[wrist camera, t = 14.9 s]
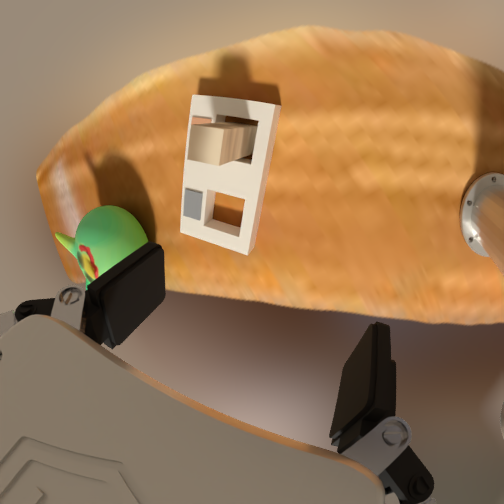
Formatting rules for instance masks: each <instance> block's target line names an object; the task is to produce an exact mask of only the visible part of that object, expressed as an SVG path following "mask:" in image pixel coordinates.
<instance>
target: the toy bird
mask: <svg viewBox="0 0 504 504" xmlns="http://www.w3.org/2000/svg"><path fill="white" fill-rule="evenodd" d="M55 235H56V237H57V239H58V240H59V241H60V242H61V243H62V245H63V246H64V247H65V248H67V249H68V250H69V251H70V252H71V253H72V254H73V255H74V256H75V257H76V258H77V260H78V263H79V266H80V268H81V270H82V272H83V274H84V275H85V277H86V290H87V285H89V284H90V283H91V282H93V281H94V280H95V279H97V278H98V277H99V276H101V275H102V274H103V273H105V272H106V271H107V270H109V269H110V268H111V267H113V266H114V265H116V264H117V263H118V262H120V261H121V260H123V259H124V258H125V257H127V256H128V255H130V254H131V253H133V252H134V251H135V250H137V249H138V248H140V247H141V246H143V245H144V244H146V243H147V242H148V239H147V236H146V234H145V232H144V230H143V228H142V226H141V225H140V223H139V222H138V221H137V219H136V218H135V217H134V216H133V215H132V214H131V213H129V212H128V211H126V210H125V209H123V208H120V207H117V206H112V205H106V206H100V207H97V208H95V209H93V210H91V211H90V212H89V213H87V214H86V215H85V216H84V217H83V219H82V220H81V222H80V223H79V225H78V228H77V231H76V235H75V238H72V237H69V236H67V235H64V234H62V233H59V232H56V233H55Z"/></svg>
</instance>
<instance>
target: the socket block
mask: <svg viewBox="0 0 504 504" xmlns="http://www.w3.org/2000/svg"><path fill="white" fill-rule="evenodd" d="M280 111H281V106H280V105H275V104H269V103H263V102H257V101H250V100H243V99H235V98H226V97H216V96H205V95H192V101H191V109H190V117H189V125H188V134H187V143H186V153H185V164H184V176H183V190H182V206H181V227H180V232H181V233H184V234H187V235H190V236H193V237H196V238H199V239H201V240H204V241H207V242H210V243H213V244H216V245H219V246H222V247H225V248H228V249H231V250H234V251H236V252H239V253H242V254H245V255H248V254H249V253H250V252H251V250H252V249H253V248H254V246H255V241H256V236H257V231H258V225H259V220H260V215H261V210H262V205H263V199H264V194H265V189H266V184H267V178H268V173H269V168H270V163H271V158H272V152H273V147H274V142H275V137H276V131H277V126H278V121H279V116H280ZM226 116H233V117H240V118H246V119H252V120H257V121H259V122H258V127H257V133H256V139H255V144H254V150H253V156H252V160H251V159H246V158H240V159H237V160H234V161H231V162H229V163H226V164H223V165H221V166H216V165H212V164H207V163H202V162H197V161H192V160H187V157H188V147H189V138H190V129H191V125H193V124H205V123H219V122H225V119H226ZM216 192H220V193H224V194H228V195H231V196H235V197H239V198H242V199H245V204H244V210H243V216H242V223H241V228H240V227H237V226H233V225H230V224H227V223H224V222H221V221H217V220H214V219H213V211H214V203H215V194H216Z"/></svg>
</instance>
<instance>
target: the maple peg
mask: <svg viewBox="0 0 504 504" xmlns="http://www.w3.org/2000/svg"><path fill="white" fill-rule="evenodd" d="M257 127H258V126H255V125H249V124H243V123H237V122H219V123H205V124H193V125H191V129H190V138H189V147H188V157H187V160H192V161H197V162H202V163H207V164H212V165H216V166H221V165H223V164H226V163H229V162H231V161H234V160H237V159H240V158H242V157H245V156H248V155H251V154H253V150H254V144H255V139H256V133H257Z"/></svg>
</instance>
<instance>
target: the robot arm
mask: <svg viewBox="0 0 504 504" xmlns="http://www.w3.org/2000/svg"><path fill="white" fill-rule="evenodd" d="M468 200H469V202H468V203H467V201H468ZM460 227H461V231H462V234H463V237H464V239H465V241H466V242H467V244H468V245H469V247H470V248H471V249H472V250H473V251H474V252H475V253H477V254H479V255H481V256H485V257H490V258H491V259H492V260H493V262H494V263H495V264H496V266H497V267H498V269H499V270H500V271H501V273H502V274H503V276H504V175H503V174H500V173H495V172H491V173H486V174H484V175H482V176H480V177H479V178H477V179H476V180H475V181H474V182H473V183H472V184H471V185H470V187H469V188H468V190H467V192H466V193H465V196H464V198H463V201H462V205H461V209H460ZM164 298H165V270H164V250H163V249H162V247H161V245H159V244H156V243H154V242H151V241H149V242H147V243H146V244H144V245H143V246H141V247H140V248H138V249H137V250H135V251H134V252H133V253H131V254H130V255H128V256H127V257H125V258H124V259H123V260H121V261H120V262H118V263H117V264H116V265H114V266H113V267H111V268H110V269H109V270H107V271H106V272H105V273H103V274H102V275H101V276H99V277H98V278H97V279H95V280H94V281H93V282H91V283H90V284H89V285H87V290H86V291H84V289H83V288H82V287H81V286H78V285H69V286H66V287H64V288H62V289H61V290H60V291H59V292H58V293H57V295H56V298H50V299H38V300H29V301H25V302H23V303H22V304H20V305H19V306H18V307H17V309H16V311H15V312H14V310H11V311H8V312H6V313H3V314H0V504H436V500H435V498H433V499H432V498H431V494H432V491H433V489H434V480H433V477H432V475H431V474H430V473H429V471H428V470H427V469H426V467H425V466H424V465H423V463H422V462H421V461H420V459H419V458H418V457H417V456H416V454H415V453H414V452H413V450H412V449H411V448H410V446H409V443H410V441H411V429H410V427H409V425H408V424H407V423H406V421H404V420H403V419H401V418H399V417H395V411H396V410H395V409H396V362H395V361H394V360H391V344H390V327H389V325H386V324H383V323H380V322H376V323H375V324H370V325H369V327H368V329H367V330H366V332H365V333H364V335H363V337H362V338H361V340H360V342H359V343H358V345H357V346H356V348H355V349H354V351H353V352H352V354H351V355H350V357H349V358H348V360H347V361H346V363H345V365H344V367H343V371H342V377H341V382H340V387H339V393H338V399H337V403H336V408H335V412H334V418H333V421H332V426H331V430H330V434H329V437H330V438H333V439H332V443H331V445H334V446H338V449H337V452H338V453H339V454H338V453H335V452H333V451H329V450H326V449H323V448H319V447H316V446H313V445H309V444H306V443H303V442H299V441H296V440H293V439H290V438H286V437H283V436H281V435H278V434H275V433H272V432H269V431H266V430H263V429H260V428H258V427H255V426H252V425H250V424H247V423H244V422H241V421H239V420H237V419H234V418H232V417H230V416H227V415H225V414H223V413H220V412H218V411H216V410H214V409H211V408H209V407H207V406H205V405H203V404H200V403H198V402H196V401H194V400H192V399H190V398H188V397H186V396H184V395H182V394H180V393H178V392H176V391H175V390H173V389H171V388H169V387H167V386H165V385H163V384H162V383H160V382H158V381H156V380H155V379H153V378H151V377H149V376H147V375H146V374H144V373H142V372H141V371H139V370H137V369H136V368H134V367H133V366H131V365H129V364H128V363H126V362H125V361H123V360H121V359H120V358H118V357H117V356H115V355H114V354H112V353H111V352H109V351H108V350H106V349H105V348H104V347H102V346H101V344H102V343H103V342H104V344H106V345H107V346H108V347H110V348H111V349H113V348H114V347H115V346H116V345H120V344H121V343H122V342H123V341H124V340H125V339H126V338H127V337H128V336H129V335H130V334H131V333H132V332H133V331H134V330H135V329H136V328H137V327H138V326H139V325H140V324H141V323H142V322H143V321H144V320H145V319H146V318H147V317H148V316H149V315H150V314H151V313H152V312H153V311H154V310H155V309H156V308H157V306H158V305H160V304H161V303H162V302H163V300H164ZM500 425H501V431H502V435H503V438H504V402H503V405H502V409H501V415H500Z"/></svg>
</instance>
